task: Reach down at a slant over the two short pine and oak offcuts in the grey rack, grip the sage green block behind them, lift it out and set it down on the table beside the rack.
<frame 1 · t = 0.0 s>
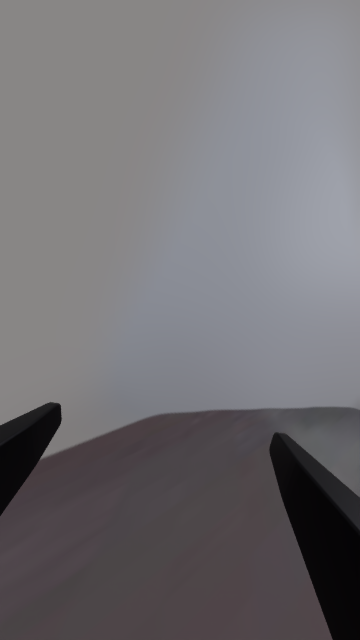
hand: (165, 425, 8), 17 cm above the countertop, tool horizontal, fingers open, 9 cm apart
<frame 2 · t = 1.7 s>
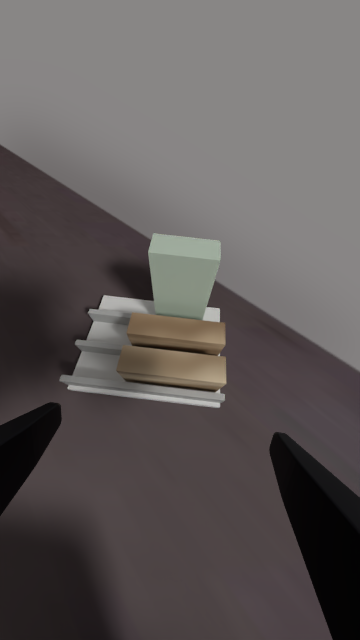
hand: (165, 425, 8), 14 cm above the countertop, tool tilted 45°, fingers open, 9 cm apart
rack: (175, 347, 24), on the countertop
sage green block: (179, 314, 26), point 1 cm above the countertop, touching rack
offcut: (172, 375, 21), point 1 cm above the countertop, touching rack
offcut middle: (175, 344, 23), point 1 cm above the countertop, touching rack
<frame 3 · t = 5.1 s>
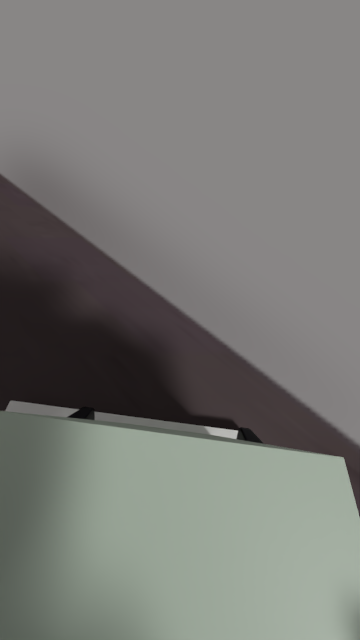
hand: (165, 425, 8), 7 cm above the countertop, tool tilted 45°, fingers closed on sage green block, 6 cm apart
rack: (151, 545, 11), on the countertop
sage green block: (163, 451, 12), point 1 cm above the countertop, touching gripper, rack
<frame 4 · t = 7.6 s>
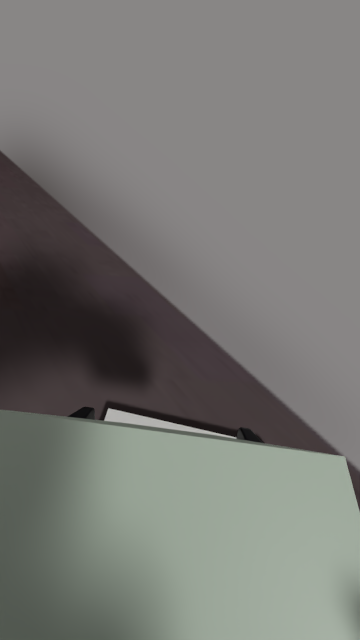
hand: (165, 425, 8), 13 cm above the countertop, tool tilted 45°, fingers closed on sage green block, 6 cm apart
rack: (204, 513, 16), on the countertop
sage green block: (164, 451, 12), point 8 cm above the countertop, touching gripper
when the fingers open (7 cm above the countertop, at t = 10.6 s): sage green block drops 1 cm, on the countertop.
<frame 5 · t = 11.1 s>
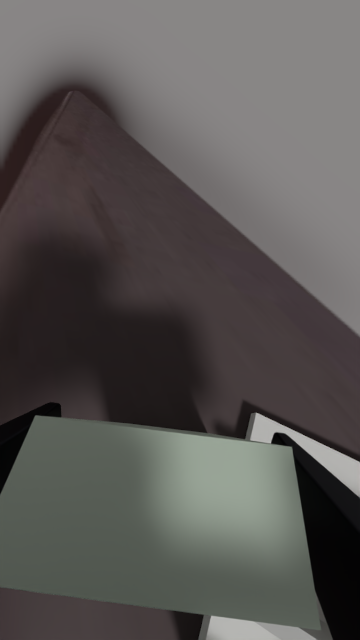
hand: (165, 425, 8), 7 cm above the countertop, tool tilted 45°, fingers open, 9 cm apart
sage green block: (165, 448, 13), on the countertop
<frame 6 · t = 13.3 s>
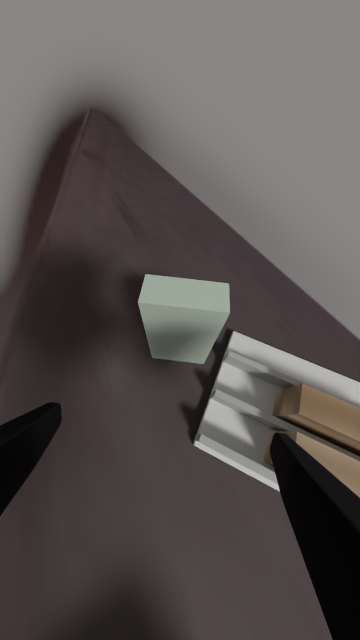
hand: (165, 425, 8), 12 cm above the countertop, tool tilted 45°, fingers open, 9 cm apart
rack: (318, 428, 19), on the countertop
sage green block: (178, 350, 22), on the countertop
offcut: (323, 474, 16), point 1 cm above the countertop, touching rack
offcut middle: (325, 428, 18), point 1 cm above the countertop, touching rack
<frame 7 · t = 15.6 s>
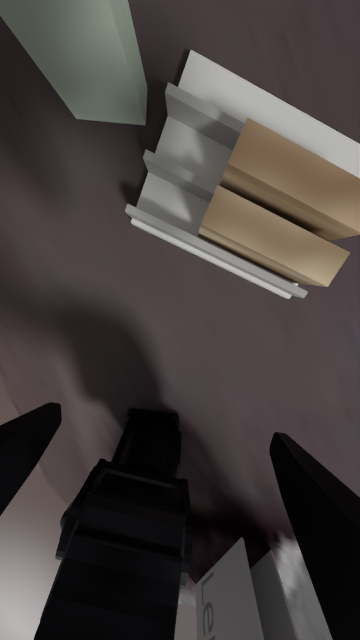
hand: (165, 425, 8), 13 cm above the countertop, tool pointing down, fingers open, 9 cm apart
rack: (270, 207, 17), on the countertop
sage green block: (111, 103, 16), on the countertop
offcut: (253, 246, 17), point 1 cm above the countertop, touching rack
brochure: (231, 566, 30), on the countertop
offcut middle: (275, 203, 16), point 1 cm above the countertop, touching rack
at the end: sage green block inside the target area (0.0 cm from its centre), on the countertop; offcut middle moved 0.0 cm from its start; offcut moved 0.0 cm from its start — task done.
